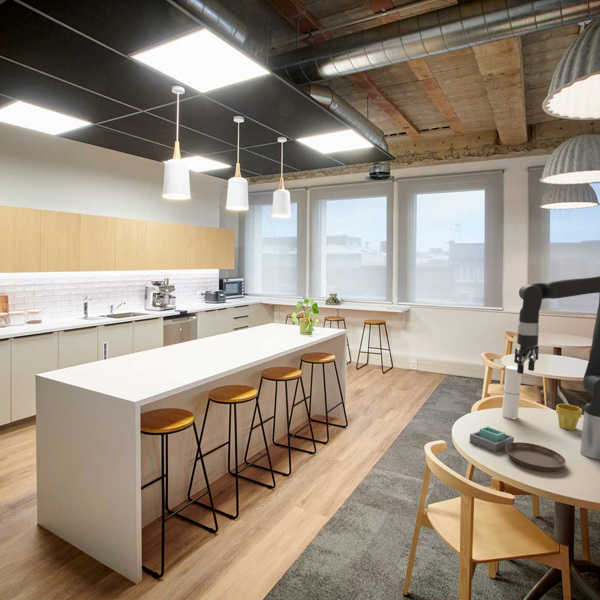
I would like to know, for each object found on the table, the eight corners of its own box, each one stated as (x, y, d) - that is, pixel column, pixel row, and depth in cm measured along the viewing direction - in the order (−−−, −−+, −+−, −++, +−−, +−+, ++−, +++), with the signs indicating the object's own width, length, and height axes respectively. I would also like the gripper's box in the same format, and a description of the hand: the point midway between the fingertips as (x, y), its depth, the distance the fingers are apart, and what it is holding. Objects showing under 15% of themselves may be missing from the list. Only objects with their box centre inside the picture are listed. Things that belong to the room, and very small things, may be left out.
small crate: (486, 437, 186) (487, 426, 185) (504, 444, 179) (504, 432, 179) (479, 440, 183) (479, 428, 182) (496, 447, 176) (497, 435, 176)
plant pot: (583, 433, 196) (585, 412, 195) (558, 429, 199) (560, 409, 198) (575, 424, 206) (577, 405, 205) (551, 422, 209) (553, 402, 208)
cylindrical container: (506, 419, 211) (510, 369, 208) (499, 413, 218) (503, 365, 216) (520, 419, 211) (524, 369, 209) (512, 414, 218) (516, 366, 216)
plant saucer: (572, 463, 166) (572, 455, 165) (555, 480, 152) (555, 471, 151) (516, 445, 181) (516, 437, 180) (496, 459, 167) (496, 451, 166)
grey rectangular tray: (487, 435, 190) (488, 427, 189) (513, 445, 180) (514, 437, 180) (469, 441, 182) (470, 434, 182) (495, 452, 172) (495, 444, 172)
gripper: (528, 330, 182) (525, 367, 184) (509, 333, 174) (507, 372, 176) (546, 333, 176) (543, 371, 178) (528, 336, 168) (525, 376, 170)
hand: (525, 371), depth 177 cm, fingers open, 8 cm apart
